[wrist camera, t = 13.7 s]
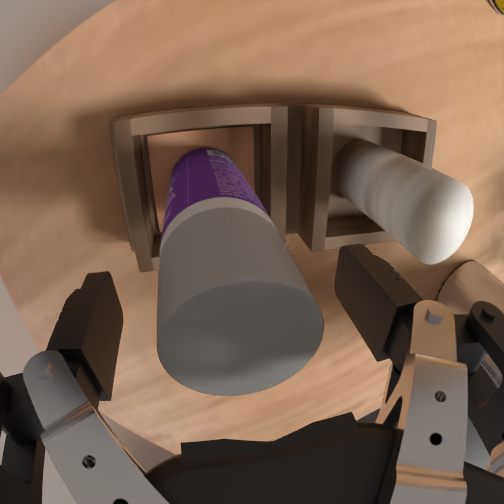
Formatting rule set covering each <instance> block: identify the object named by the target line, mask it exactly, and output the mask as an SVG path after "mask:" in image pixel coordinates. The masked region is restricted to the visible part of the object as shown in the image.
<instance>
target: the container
mask: <svg viewBox="0 0 504 504" xmlns="http://www.w3.org/2000/svg"><path fill="white" fill-rule="evenodd" d="M323 331H324V321H323V316H322V313H321V310H320V308H319V306H318V304H317V302H316V300H315V298H314V297H313V295H312V293H311V291H310V289H309V287H308V285H307V283H306V282H305V280H304V278H303V276H302V274H301V272H300V270H299V269H298V267H297V265H296V263H295V261H294V259H293V257H292V256H291V254H290V252H289V250H288V248H287V247H286V245H285V243H284V241H283V239H282V237H281V236H280V234H279V232H278V230H277V228H276V226H275V224H274V223H273V221H272V219H271V218H270V216H269V215H268V213H267V212H266V210H265V208H264V207H263V205H262V204H261V202H260V201H259V199H258V198H257V196H256V194H255V193H254V191H253V190H252V188H251V187H250V185H249V184H248V182H247V181H246V179H245V178H244V176H243V174H242V173H241V171H240V170H239V168H238V167H237V165H236V164H235V162H234V161H233V160H232V159H231V157H230V156H229V155H228V154H226V153H225V152H223V151H221V150H219V149H216V148H213V147H199V148H195V149H192V150H190V151H188V152H186V153H185V154H184V155H182V156H181V157H180V158H179V160H178V161H177V162H176V164H175V165H174V168H173V170H172V173H171V178H170V184H169V190H168V196H167V202H166V208H165V215H164V222H163V229H162V236H161V244H160V259H159V278H158V305H157V352H158V356H159V359H160V362H161V364H162V366H163V367H164V369H165V370H166V371H167V373H168V374H169V375H170V376H171V377H172V378H173V379H175V380H176V381H177V382H179V383H180V384H182V385H184V386H185V387H188V388H190V389H192V390H195V391H198V392H201V393H205V394H211V395H219V396H236V395H245V394H251V393H255V392H259V391H262V390H265V389H268V388H271V387H273V386H276V385H278V384H280V383H282V382H284V381H285V380H287V379H289V378H290V377H292V376H293V375H295V374H296V373H297V372H298V371H300V370H301V369H302V368H303V367H304V366H305V365H306V364H307V363H308V362H309V361H310V360H311V358H312V357H313V356H314V354H315V353H316V351H317V349H318V347H319V345H320V343H321V340H322V336H323Z"/></svg>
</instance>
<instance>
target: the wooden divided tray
mask: <svg viewBox="0 0 504 504" xmlns="http://www.w3.org/2000/svg"><path fill="white" fill-rule="evenodd" d="M436 124H437V121H435V120H432V119H428V118H424V117H421V116H419V115H415V114H410V113H404V112H397V111H390V110H382V109H373V108H364V107H353V106H341V105H325V104H300V103H253V104H228V105H212V106H200V107H189V108H179V109H170V110H162V111H155V112H148V113H141V114H135V115H129V116H123V117H117V118H113V119H111V120H110V129H111V138H112V146H113V153H114V160H115V167H116V173H117V180H118V186H119V191H120V197H121V202H122V208H123V213H124V218H125V223H126V228H127V232H128V237H129V241H130V246H131V250H132V252H135V254H136V258H137V262H138V266H139V270H140V272H147V271H156V270H159V259H160V244H161V236H162V229H163V222H164V215H165V208H166V202H167V196H168V190H169V184H170V178H171V173H172V170H173V168H174V165H175V164H176V162H177V161H178V160H179V158H180V157H181V156H182V155H184V154H185V153H186V152H188V151H190V150H192V149H195V148H199V147H213V148H216V149H219V150H221V151H223V152H225V153H226V154H228V155H229V156H230V157H231V159H232V160H233V161H234V162H235V164H236V165H237V167H238V168H239V170H240V171H241V173H242V174H243V176H244V178H245V179H246V181H247V182H248V184H249V185H250V187H251V188H252V190H253V191H254V193H255V194H256V196H257V198H258V199H259V201H260V202H261V204H262V205H263V207H264V208H265V210H266V212H267V213H268V215H269V216H270V218H271V219H272V221H273V223H274V224H275V226H276V228H277V230H278V232H279V234H280V236H281V237H282V239H283V241H284V243H285V234H294V233H298V234H299V235H300V237H301V238H302V239H303V241H304V242H305V244H306V245H307V246H308V248H309V249H310V250H311V252H313V251H321V250H329V249H337V248H341V247H342V246H345V245H354V244H363V245H368V244H376V243H384V242H391V241H398V242H399V243H400V244H401V245H402V246H403V247H405V248H406V249H407V250H408V251H409V252H410V253H411V254H412V255H413V256H415V257H416V258H417V259H418V260H419V261H420V262H422V263H424V264H436V263H439V262H442V261H444V260H445V259H447V258H448V257H450V256H451V255H452V254H453V253H454V252H455V251H456V250H457V249H458V248H459V246H460V245H461V244H462V242H463V241H464V239H465V237H466V235H467V233H468V231H469V228H470V225H471V222H472V218H473V209H474V206H473V198H472V195H471V192H470V190H469V189H468V187H467V186H466V185H465V184H463V183H462V182H460V181H458V180H456V179H454V178H452V177H450V176H448V175H446V174H444V173H442V172H440V171H438V170H435V169H433V168H431V167H432V160H433V152H434V144H435V135H436Z"/></svg>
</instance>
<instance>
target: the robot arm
mask: <svg viewBox="0 0 504 504" xmlns="http://www.w3.org/2000/svg"><path fill="white" fill-rule="evenodd" d="M335 292H336V295H337V298H338V300H339V301H340V303H341V304H342V306H343V307H344V309H345V311H346V312H347V314H348V315H349V317H350V318H351V320H352V322H353V323H354V325H355V326H356V328H357V330H358V331H359V333H360V334H361V336H362V338H363V339H364V341H365V342H366V344H367V346H368V347H369V349H370V351H371V352H372V354H373V355H374V357H375V359H376V360H377V362H379V361H382V360H385V359H389V358H390V359H391V361H392V364H391V366H390V369H389V374H388V379H387V383H386V388H385V392H384V397H383V401H382V405H381V409H380V413H379V415H378V418H377V420H376V422H375V423H372V422H356V420H355V418H354V416H353V413H352V412H349V413H346V414H342V415H339V416H335V417H332V418H328V419H324V420H321V421H317V422H313V423H311V424H309V425H307V426H305V427H303V428H301V429H299V430H297V431H295V432H293V433H290V434H288V435H286V436H284V437H282V438H280V439H277V440H275V441H269V442H265V441H246V440H232V439H219V440H209V441H199V442H186V443H181V453H182V454H179V455H176V456H173V457H171V458H169V459H166V460H164V461H163V462H161V463H159V464H157V465H156V466H155V467H153V468H152V469H150V470H149V471H148V472H146V471H145V470H144V469H143V468H142V467H141V465H140V464H139V463H138V462H137V461H136V460H135V459H134V457H133V456H132V455H131V454H130V453H129V451H128V450H127V449H126V448H125V446H124V445H123V444H122V443H121V441H120V440H119V439H118V437H117V436H116V435H115V433H114V432H113V431H112V429H111V428H110V427H109V425H108V424H107V422H106V421H105V420H104V418H103V417H102V415H101V414H100V412H99V411H98V405H99V401H111V397H112V389H113V382H114V375H115V368H116V361H117V355H118V349H119V344H120V338H121V333H122V327H123V312H122V308H121V305H120V302H119V299H118V295H117V292H116V289H115V286H114V283H113V279H112V276H111V274H110V273H109V272H108V271H106V272H97V273H88V274H87V276H86V278H85V280H84V282H83V285H82V287H81V289H76V290H75V291H74V292H73V293H72V294H71V295H70V296H69V297H68V298H67V300H66V302H65V304H64V306H63V309H62V312H61V313H60V316H59V320H58V321H57V323H56V325H55V328H54V330H53V333H52V336H51V338H50V341H49V343H48V346H47V349H46V351H42V352H40V353H38V354H36V355H34V356H33V357H32V358H31V359H30V360H29V361H28V362H27V364H26V365H25V368H24V370H23V373H20V374H16V375H12V376H9V377H5V378H4V376H3V375H2V374H1V372H0V436H1V431H3V432H4V433H6V440H5V446H4V451H3V458H2V465H0V504H42V483H43V468H44V467H43V466H44V456H45V448H46V450H47V452H48V454H49V456H50V458H51V460H52V462H53V464H54V465H55V467H56V469H57V471H58V473H59V474H60V476H61V478H62V480H63V482H64V483H65V485H66V487H67V488H68V490H69V491H70V493H71V495H72V496H73V498H74V499H75V501H76V503H77V504H504V283H502V282H501V281H500V280H499V279H498V278H497V277H496V276H494V275H493V274H492V273H491V272H490V271H489V270H488V269H486V268H485V267H484V266H481V265H480V264H478V263H477V262H475V261H469V262H466V263H464V264H463V265H461V266H460V267H458V268H457V269H456V270H455V271H454V272H453V273H452V274H451V276H450V277H449V278H448V279H447V281H446V282H445V283H444V285H443V287H442V289H441V291H440V293H439V295H438V298H437V301H433V300H423V299H422V298H421V297H420V296H419V295H418V294H417V293H416V292H415V291H414V290H413V289H412V287H411V286H410V285H409V284H408V283H407V282H406V281H405V280H404V279H402V277H401V276H400V275H399V274H398V273H397V272H395V269H394V268H393V267H392V266H391V265H390V264H389V263H388V262H387V261H385V260H383V259H381V258H379V257H378V256H376V255H373V254H372V253H371V252H370V251H369V250H368V249H367V248H366V247H365V246H364V245H363V244H354V245H345V246H342V247H341V248H340V251H339V257H338V264H337V271H336V277H335ZM481 364H482V365H483V367H484V368H485V369H486V370H487V372H488V373H489V374H490V375H491V377H492V378H493V379H494V381H495V382H496V383H497V384H498V386H499V388H498V389H497V388H496V386H495V385H494V383H493V382H492V380H491V379H490V377H489V376H488V374H487V373H486V372H485V370H484V369H483V367H482V366H481ZM467 414H468V416H469V418H470V419H471V421H472V423H473V425H474V427H475V428H476V430H477V432H478V434H479V436H480V438H481V439H482V441H483V443H484V445H485V447H486V449H487V451H488V453H489V455H490V464H488V465H487V467H486V470H484V469H482V468H479V467H477V466H474V465H472V464H469V463H467V462H465V461H464V457H465V447H466V434H467V433H466V432H467Z"/></svg>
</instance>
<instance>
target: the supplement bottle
mask: <svg viewBox="0 0 504 504" xmlns="http://www.w3.org/2000/svg"><path fill="white" fill-rule="evenodd" d="M489 1H490V3H491V5H492V6H493V8H494V9H495V10H496V11H497V12H498V13H499V14H501V15H504V0H489Z"/></svg>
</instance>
